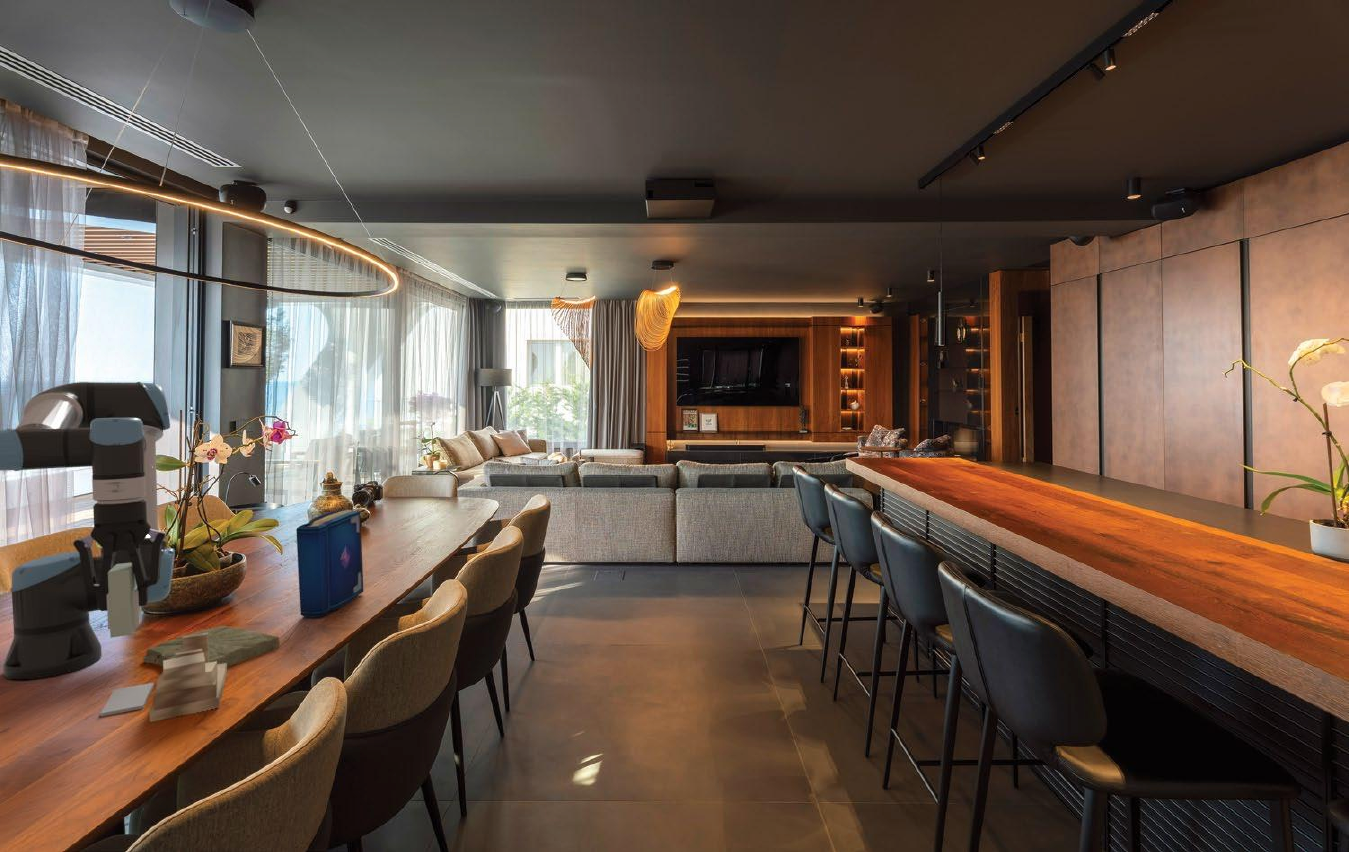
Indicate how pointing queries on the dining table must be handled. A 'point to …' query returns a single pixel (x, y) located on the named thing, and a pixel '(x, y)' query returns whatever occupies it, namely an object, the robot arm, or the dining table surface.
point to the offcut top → (183, 666)
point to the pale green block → (121, 599)
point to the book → (329, 562)
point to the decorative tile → (219, 646)
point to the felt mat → (127, 699)
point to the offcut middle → (189, 679)
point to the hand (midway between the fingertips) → (125, 624)
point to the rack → (191, 647)
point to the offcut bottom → (184, 696)
